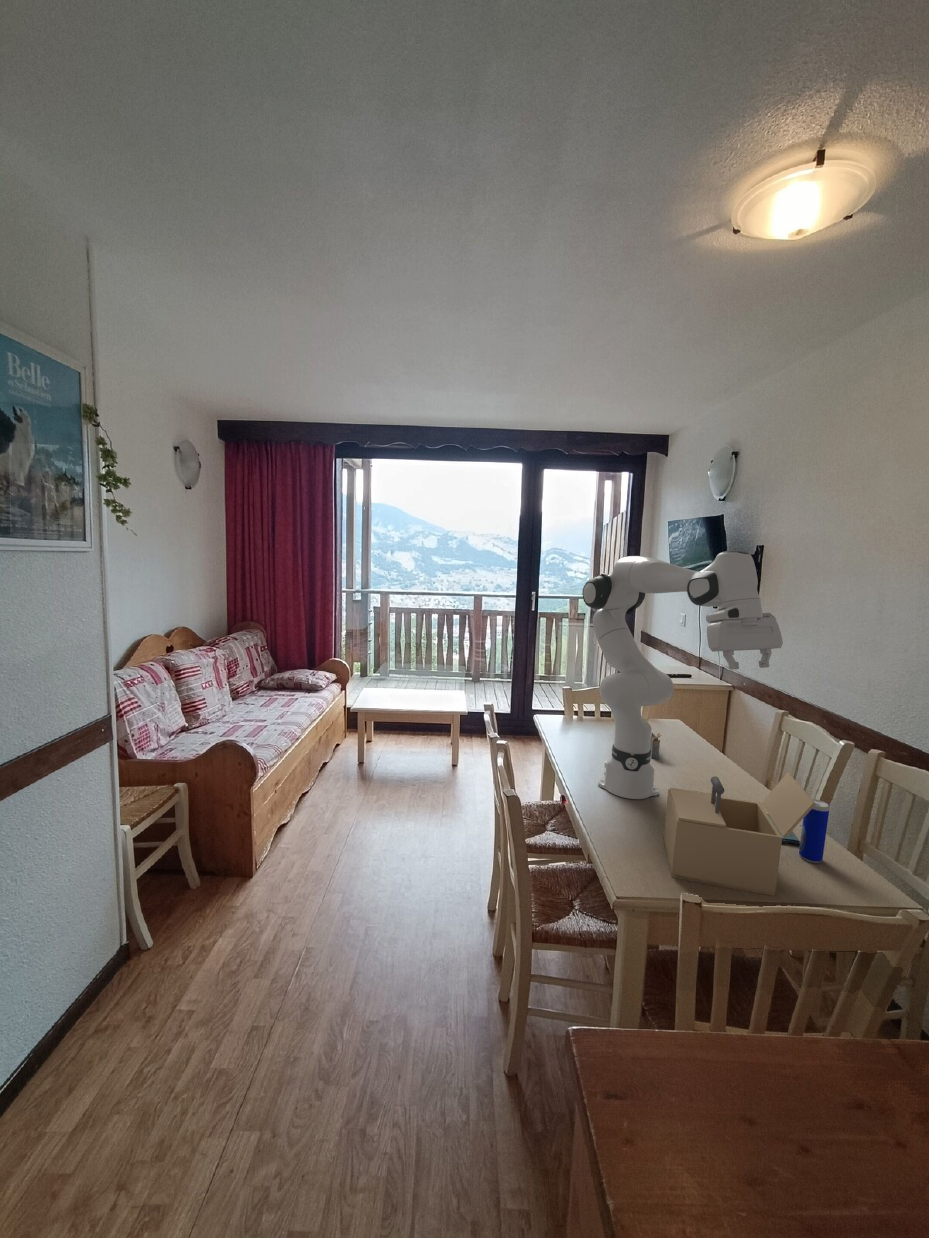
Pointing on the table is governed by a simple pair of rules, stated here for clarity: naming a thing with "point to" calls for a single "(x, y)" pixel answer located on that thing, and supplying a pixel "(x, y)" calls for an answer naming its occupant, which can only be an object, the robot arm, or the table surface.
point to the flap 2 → (787, 804)
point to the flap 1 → (699, 805)
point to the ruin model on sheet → (654, 746)
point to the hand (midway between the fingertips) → (749, 668)
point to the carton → (725, 848)
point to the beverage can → (814, 832)
